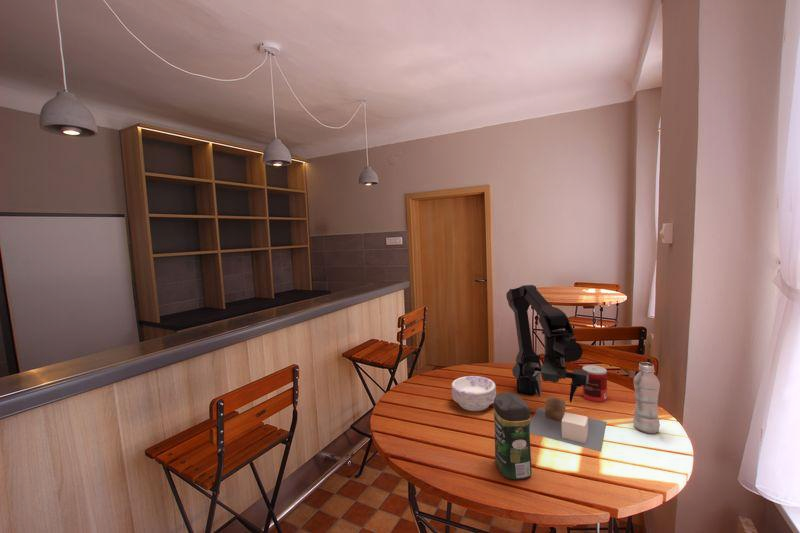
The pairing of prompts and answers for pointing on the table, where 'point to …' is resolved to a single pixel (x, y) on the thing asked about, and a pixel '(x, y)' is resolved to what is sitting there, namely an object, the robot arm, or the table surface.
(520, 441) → the coffee jar
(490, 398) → the paper bowls
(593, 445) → the build mat
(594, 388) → the canned food
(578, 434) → the cream block
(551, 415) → the walnut block
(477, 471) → the table surface
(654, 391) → the plastic bottle
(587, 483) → the table surface
